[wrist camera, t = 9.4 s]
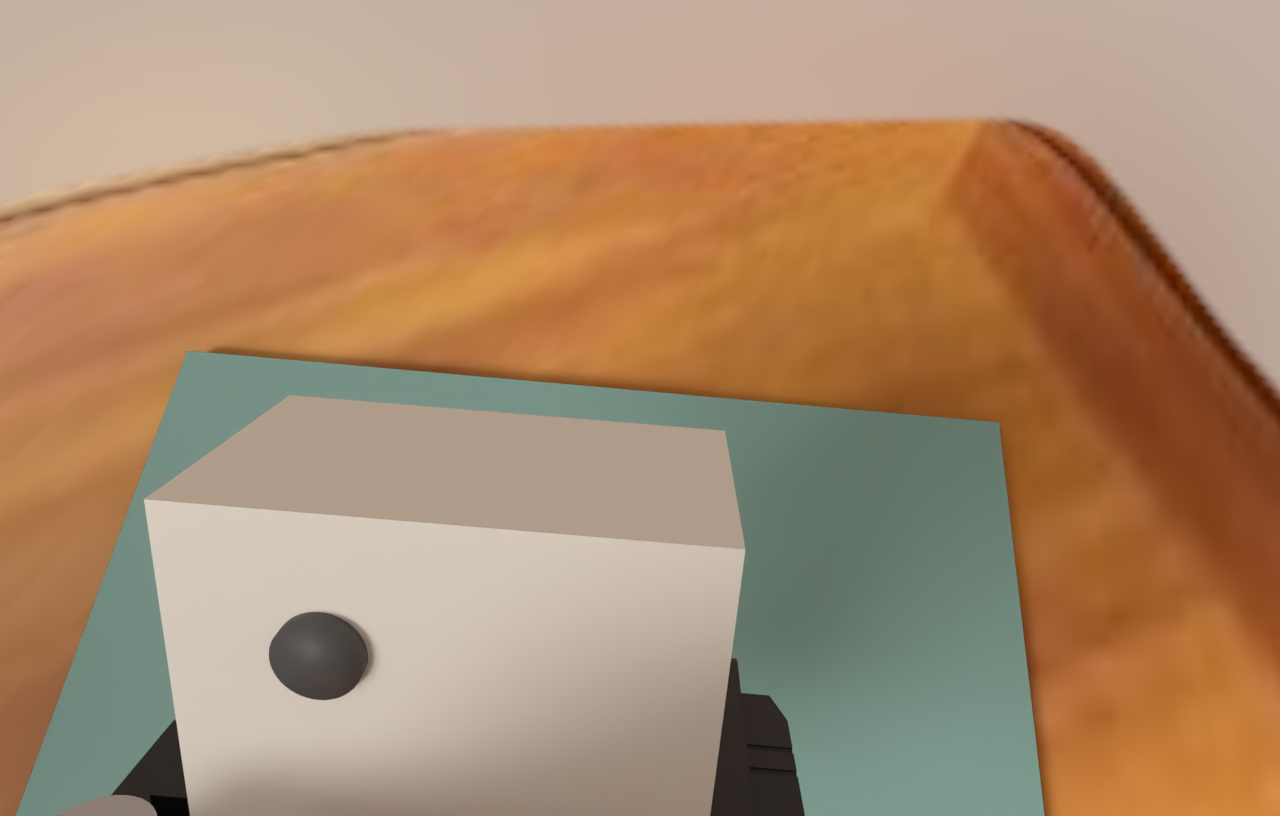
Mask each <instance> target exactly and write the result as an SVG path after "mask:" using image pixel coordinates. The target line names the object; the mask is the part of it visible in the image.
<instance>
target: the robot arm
mask: <svg viewBox="0 0 1280 816" xmlns="http://www.w3.org/2000/svg"><path fill="white" fill-rule="evenodd" d="M792 749H793V748H792V742H791V737H790V731H789V726H788V721H787V719H786V718H785V716H784V715H783V714H782V712H781V711H780V709H779V708H778V707H777V705H776V704H775V702H774V701H773V700H772V698H771V697H770V696H769V695H758V694H747V693H741V688H740V679H739V670H738V662H737V659H736V658H731V663H730V670H729V678H728V685H727V693H726V700H725V708H724V716H723V723H722V731H721V738H720V746H719V753H718V761H717V768H716V776H715V783H714V791H713V799H712V806H711V814H710V816H805V813H804V808H803V802H802V797H801V791H800V786H799V780H798V777H797V769H796V764H795V759H794V754H793V753H792ZM57 816H190V812H189V806H188V799H187V792H186V785H185V778H184V771H183V764H182V758H181V751H180V744H179V737H178V730H177V723H176V720H173V721H172V723H171V724H170V725H169V726H168V727H167V729H166V730H165V731H164V732H163V733H162V735H161V736H160V737H159V738H158V739H157V741H156V742H155V743H154V744H153V745H152V747H151V748H150V749H149V750H148V751H147V753H146V754H145V755H144V756H143V757H142V759H141V760H140V761H139V762H138V763H137V765H136V766H135V767H134V768H133V769H132V771H131V772H130V773H129V774H128V775H127V776H126V778H125V779H124V780H123V781H122V782H121V784H120V785H119V786H118V787H117V788H116V790H115V791H114V792H113V793H112V794H111V796H104V797H100V798H96V799H92V800H89V801H86V802H83V803H80V804H78V805H76V806H73V807H71V808H69V809H67V810H65V811H64V812H62V813H60V814H58V815H57Z"/></svg>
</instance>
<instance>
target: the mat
mask: <svg viewBox="0 0 1280 816" xmlns="http://www.w3.org/2000/svg"><path fill="white" fill-rule="evenodd" d="M289 395H296V396H309V397H321V398H333V399H345V400H357V401H370V402H382V403H394V404H406V405H419V406H431V407H443V408H455V409H467V410H480V411H492V412H504V413H516V414H528V415H541V416H553V417H565V418H577V419H590V420H602V421H614V422H626V423H638V424H651V425H663V426H675V427H687V428H699V429H712V430H724V431H725V433H726V439H727V445H728V451H729V457H730V462H731V468H732V474H733V480H734V486H735V491H736V497H737V503H738V509H739V515H740V521H741V526H742V532H743V538H744V544H745V557H744V565H743V572H742V580H741V587H740V595H739V602H738V610H737V617H736V625H735V633H734V640H733V648H732V655H731V658H736V659H737V662H738V670H739V679H740V688H741V693H747V694H758V695H769V696H770V697H771V698H772V700H773V701H774V702H775V704H776V705H777V707H778V708H779V709H780V711H781V712H782V714H783V715H784V716H785V718H786V719H787V721H788V726H789V731H790V737H791V742H792V748H793V749H792V753H793V754H794V759H795V764H796V769H797V777H798V780H799V786H800V791H801V797H802V802H803V808H804V813H805V816H1045V815H1044V806H1043V798H1042V789H1041V780H1040V772H1039V763H1038V754H1037V746H1036V737H1035V729H1034V720H1033V711H1032V703H1031V694H1030V685H1029V677H1028V668H1027V659H1026V651H1025V642H1024V634H1023V625H1022V616H1021V608H1020V599H1019V590H1018V582H1017V573H1016V564H1015V556H1014V547H1013V539H1012V530H1011V521H1010V513H1009V504H1008V495H1007V487H1006V478H1005V469H1004V461H1003V452H1002V444H1001V435H1000V426H999V422H990V421H979V420H967V419H956V418H945V417H933V416H922V415H911V414H899V413H888V412H877V411H865V410H854V409H843V408H831V407H820V406H809V405H797V404H786V403H775V402H763V401H752V400H741V399H729V398H718V397H707V396H695V395H684V394H673V393H661V392H650V391H639V390H627V389H616V388H605V387H593V386H582V385H571V384H559V383H548V382H537V381H525V380H514V379H503V378H492V377H480V376H469V375H458V374H446V373H435V372H424V371H412V370H401V369H390V368H378V367H367V366H356V365H344V364H333V363H322V362H310V361H299V360H288V359H276V358H265V357H254V356H242V355H231V354H220V353H208V352H197V351H187V353H186V356H185V358H184V361H183V364H182V366H181V369H180V372H179V374H178V377H177V380H176V383H175V385H174V388H173V391H172V393H171V396H170V399H169V402H168V404H167V407H166V410H165V412H164V415H163V418H162V421H161V423H160V426H159V429H158V431H157V434H156V437H155V440H154V442H153V445H152V448H151V450H150V453H149V456H148V458H147V461H146V464H145V467H144V469H143V472H142V475H141V477H140V480H139V483H138V486H137V488H136V491H135V494H134V496H133V499H132V502H131V505H130V507H129V510H128V513H127V515H126V518H125V521H124V523H123V526H122V529H121V532H120V534H119V537H118V540H117V542H116V545H115V548H114V551H113V553H112V556H111V559H110V561H109V564H108V567H107V570H106V572H105V575H104V578H103V580H102V583H101V586H100V589H99V591H98V594H97V597H96V599H95V602H94V605H93V607H92V610H91V613H90V616H89V618H88V621H87V624H86V626H85V629H84V632H83V635H82V637H81V640H80V643H79V645H78V648H77V651H76V654H75V656H74V659H73V662H72V664H71V667H70V670H69V673H68V675H67V678H66V681H65V683H64V686H63V689H62V691H61V694H60V697H59V700H58V702H57V705H56V708H55V710H54V713H53V716H52V719H51V721H50V724H49V727H48V729H47V732H46V735H45V738H44V740H43V743H42V746H41V748H40V751H39V754H38V757H37V759H36V762H35V765H34V767H33V770H32V773H31V775H30V778H29V781H28V784H27V786H26V789H25V792H24V794H23V797H22V800H21V803H20V805H19V808H18V811H17V813H16V816H57V815H58V814H60V813H62V812H64V811H65V810H67V809H69V808H71V807H73V806H76V805H78V804H80V803H83V802H86V801H89V800H92V799H96V798H100V797H104V796H111V794H112V793H113V792H114V791H115V790H116V788H117V787H118V786H119V785H120V784H121V782H122V781H123V780H124V779H125V778H126V776H127V775H128V774H129V773H130V772H131V771H132V769H133V768H134V767H135V766H136V765H137V763H138V762H139V761H140V760H141V759H142V757H143V756H144V755H145V754H146V753H147V751H148V750H149V749H150V748H151V747H152V745H153V744H154V743H155V742H156V741H157V739H158V738H159V737H160V736H161V735H162V733H163V732H164V731H165V730H166V729H167V727H168V726H169V725H170V724H171V723H172V721H173V720H176V717H175V710H174V703H173V696H172V689H171V682H170V675H169V669H168V662H167V655H166V648H165V641H164V634H163V627H162V621H161V614H160V607H159V600H158V593H157V586H156V580H155V573H154V566H153V559H152V552H151V545H150V538H149V532H148V525H147V518H146V511H145V504H144V499H145V498H146V497H148V496H149V495H151V494H152V493H153V492H155V491H156V490H158V489H159V488H160V487H162V486H163V485H165V484H166V483H167V482H169V481H170V480H172V479H173V478H174V477H176V476H177V475H179V474H180V473H181V472H183V471H184V470H186V469H187V468H188V467H190V466H191V465H193V464H194V463H195V462H197V461H198V460H200V459H201V458H202V457H204V456H205V455H207V454H208V453H209V452H211V451H212V450H214V449H215V448H216V447H218V446H219V445H221V444H222V443H223V442H225V441H226V440H228V439H229V438H230V437H232V436H233V435H235V434H236V433H237V432H239V431H240V430H242V429H243V428H244V427H246V426H247V425H249V424H250V423H251V422H253V421H254V420H256V419H257V418H258V417H260V416H261V415H263V414H264V413H265V412H267V411H268V410H270V409H271V408H272V407H274V406H275V405H277V404H278V403H279V402H281V401H282V400H284V399H285V398H286V397H288V396H289Z"/></svg>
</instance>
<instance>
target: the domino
mask: <svg viewBox="0 0 1280 816" xmlns="http://www.w3.org/2000/svg"><path fill="white" fill-rule="evenodd" d="M144 504H145V511H146V518H147V525H148V532H149V538H150V545H151V552H152V559H153V566H154V573H155V580H156V586H157V593H158V600H159V607H160V614H161V621H162V627H163V634H164V641H165V648H166V655H167V662H168V669H169V675H170V682H171V689H172V696H173V703H174V710H175V717H176V723H177V730H178V737H179V744H180V751H181V758H182V764H183V771H184V778H185V785H186V792H187V799H188V806H189V812H190V816H710V814H711V806H712V799H713V791H714V783H715V776H716V768H717V761H718V753H719V746H720V738H721V731H722V723H723V716H724V708H725V700H726V693H727V685H728V678H729V670H730V663H731V655H732V648H733V640H734V633H735V625H736V617H737V610H738V602H739V595H740V587H741V580H742V572H743V565H744V557H745V544H744V538H743V532H742V526H741V521H740V515H739V509H738V503H737V497H736V491H735V486H734V480H733V474H732V468H731V462H730V457H729V451H728V445H727V439H726V433H725V431H724V430H712V429H699V428H687V427H675V426H663V425H651V424H638V423H626V422H614V421H602V420H590V419H577V418H565V417H553V416H541V415H528V414H516V413H504V412H492V411H480V410H467V409H455V408H443V407H431V406H419V405H406V404H394V403H382V402H370V401H357V400H345V399H333V398H321V397H309V396H296V395H289V396H288V397H286V398H285V399H284V400H282V401H281V402H279V403H278V404H277V405H275V406H274V407H272V408H271V409H270V410H268V411H267V412H265V413H264V414H263V415H261V416H260V417H258V418H257V419H256V420H254V421H253V422H251V423H250V424H249V425H247V426H246V427H244V428H243V429H242V430H240V431H239V432H237V433H236V434H235V435H233V436H232V437H230V438H229V439H228V440H226V441H225V442H223V443H222V444H221V445H219V446H218V447H216V448H215V449H214V450H212V451H211V452H209V453H208V454H207V455H205V456H204V457H202V458H201V459H200V460H198V461H197V462H195V463H194V464H193V465H191V466H190V467H188V468H187V469H186V470H184V471H183V472H181V473H180V474H179V475H177V476H176V477H174V478H173V479H172V480H170V481H169V482H167V483H166V484H165V485H163V486H162V487H160V488H159V489H158V490H156V491H155V492H153V493H152V494H151V495H149V496H148V497H146V498H145V499H144Z"/></svg>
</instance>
